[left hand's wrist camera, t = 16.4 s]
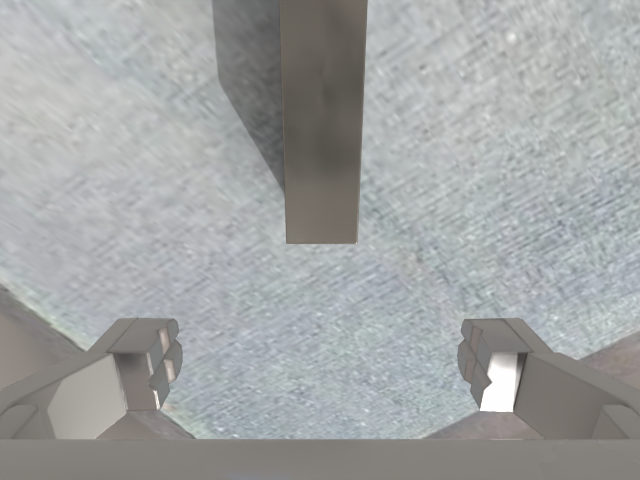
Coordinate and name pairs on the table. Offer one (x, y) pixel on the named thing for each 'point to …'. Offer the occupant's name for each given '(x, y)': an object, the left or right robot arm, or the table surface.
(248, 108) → the table surface
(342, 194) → the bar
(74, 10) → the table surface
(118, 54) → the table surface
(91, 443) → the left robot arm
